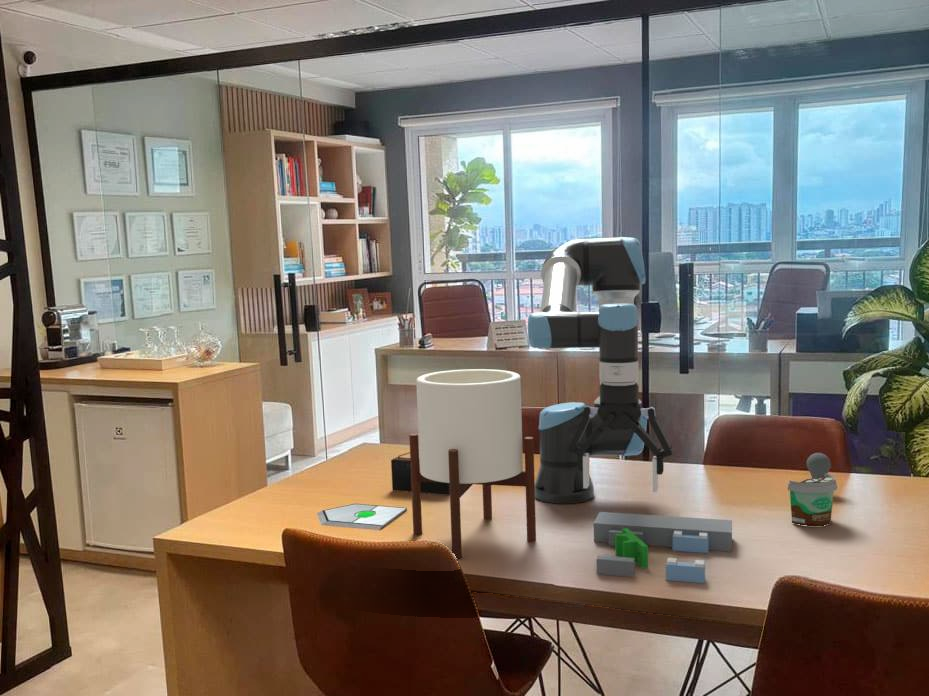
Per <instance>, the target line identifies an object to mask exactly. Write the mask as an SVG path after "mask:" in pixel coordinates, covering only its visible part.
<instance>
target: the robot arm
mask: <svg viewBox="0 0 929 696" xmlns="http://www.w3.org/2000/svg"><path fill="white" fill-rule="evenodd" d="M542 263H543V264H542V266H541V272H540V273H541V274H540V275H541V276H540V277H541V281H542V283H543V289H542V296H541V303H540V310H539V312H532V313H530V314H529V315H528V319H527V337H528V344H529V346H530V347H531V348H535V349H545V350H549V349H573V348H574V349H575V348H576V349H577V348H578V349H581V348H583V349H584V348H585V349H587V348H589V349H591V348H595V349H597V348H599V351H598V353H599V357H598V358H599V361H598V362H599V364H598V365H599V367H598V368H599V371H598V372H599V374H598V376H599V396H598V397H597V398H595V400H593V401H594V402H593V405H594V406H592V405H590V404H587V405H586V404H585V403H584V402H578V401H577V402H574V401H573V402H572V401H570V402H563V403H559V404H558V403H557V404H554V405H553V404H552V405H550V406H547V407H545V408H543V409H542V410H541V411H540V413H539V425H538V430H539V469H538V472H537V476H536V477H535V479H536V480H535V499H537V500H539V501H542V502H546V503H549V504H561V505H562V504H578V503H583V502H586V501H589V500H591V499H592V498H594V497H595V496H594V495H595V487H594V483H593V481H592V477H591V475H590V456H622V457H626V456H638V455H640V454H641V453H642V452H643V450H644V447H645V445H646V447H647V449H649V450H650V452H651V453H652V454H653V455H654V456H653V457H652V460H651V461H652V462H651V463H652V493H657V492H658V490H659V475H663V473H664V467H665V466H664V465H665V464H664V459H665V458H667V457H670V456H672V454H673V452H674V448H673V447H672V445H671V443H670V441H669V439H668V437H667V435H666V434H665V431H664V430H663V428H662V425H661V424H660V422H659V420H658V418H657V413H656V412H657V411H656V408H655V406H649V407H647V408H644V407H642V401H641V399H640V398H639V395H640V394H639V391H640V390H639V386H640V385H639V384H638V383H637V382H638V381H639V355H638V354H639V317H638V307H637V305H635V303H634V302H635V301H634V299H635V297H636V296H637V295H638V294H639V293H640V291H641V289H640V288H641V287H640V285H645V283H646V277H647V276H646V269H645V262H644V255H643V251H642V245H641V242H640V241H639V239H638V238H636V237H626V236H617V237H599V238H598V237H597V238H594V237H593V238H577V239H571V240H569V241H566V242H564V243H562V244H561V245H559V246H557V247H556V248H555V249H553V250H552V251H551V252H550V253H549V254H548V256H546V258H545V260H544V261H543V262H542ZM578 286H592V287H591V288H592V289H591V292H592V294H593V296H594V297H596V298H597V299H598V300H597V301H598V311H595V310H594V311H576V297H577V287H578ZM648 421H649V423H650V426H651V429H652V430H653V432H654V435H656V438H657V440H658V442H659V443H660V445H661V447H662V448H661V447H660V446H659V445H658V444H657V443H656V442H655V441H654V439H653V438H652V437H651V436H650V435H649V433H648V432H647V425H648Z"/></svg>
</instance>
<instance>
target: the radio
mask: <svg viewBox="0 0 929 696" xmlns="http://www.w3.org/2000/svg"><path fill="white" fill-rule="evenodd" d="M406 455H410V451H409V452H406V453H402V454H400V455H398V456H396V457H394V458H393V459H391V460H390V461H391V462H390V465H391V466H390V468H391V485H392V487H391V488H392V489H391V490H392V491H393V490H394V491H395V492H404V491H408V492H407V493H412V487H411V463H410V457H404V456H406ZM402 456H403V457H402ZM419 467H420V461H419ZM394 491H393V492H394ZM420 491H421V494H428V493H430V495H440V494H441V496H442V495H443V496H450V484H449V483H435V482H420Z"/></svg>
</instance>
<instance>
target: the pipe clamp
mask: <svg viewBox="0 0 929 696" xmlns="http://www.w3.org/2000/svg"><path fill="white" fill-rule="evenodd" d="M614 548H615V549H614V551H615V555H614V556H615V557H627V558H635V564H638V565H639V567H641V568H642V569H648V568H649V560H648V559H649V545H646V544H645V543H644V542H642V541H641V540H640V539H639V538H638V537H637V536H636V535H635V534H633V533H632V532H631V531H630V530H629V529H628V528H624V529H622V534H615V546H614Z"/></svg>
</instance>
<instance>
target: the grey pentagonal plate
mask: <svg viewBox="0 0 929 696" xmlns="http://www.w3.org/2000/svg"><path fill="white" fill-rule="evenodd" d="M407 510H408V507H401V506H390V505H375V504H365V503H364V504H363V503H352V504H348V505H342V506H337V507H333V508H328V509H323V510H320V511H318V512H316V515H317V517H318V521H319V523H320V525H321V526H327V527H328V526H329V527H337V528H338V527H340V528H349V529H350V528H351V529H359V530H369V531H370V530H373V531H380V530H381V529H382V528H384V527H386V526H387V525H388V524H389V523H391V522H393V521H394V520H395V519H396V518H398V517H399V516H401V515H402V514H403V513H405V512H407Z"/></svg>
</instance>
